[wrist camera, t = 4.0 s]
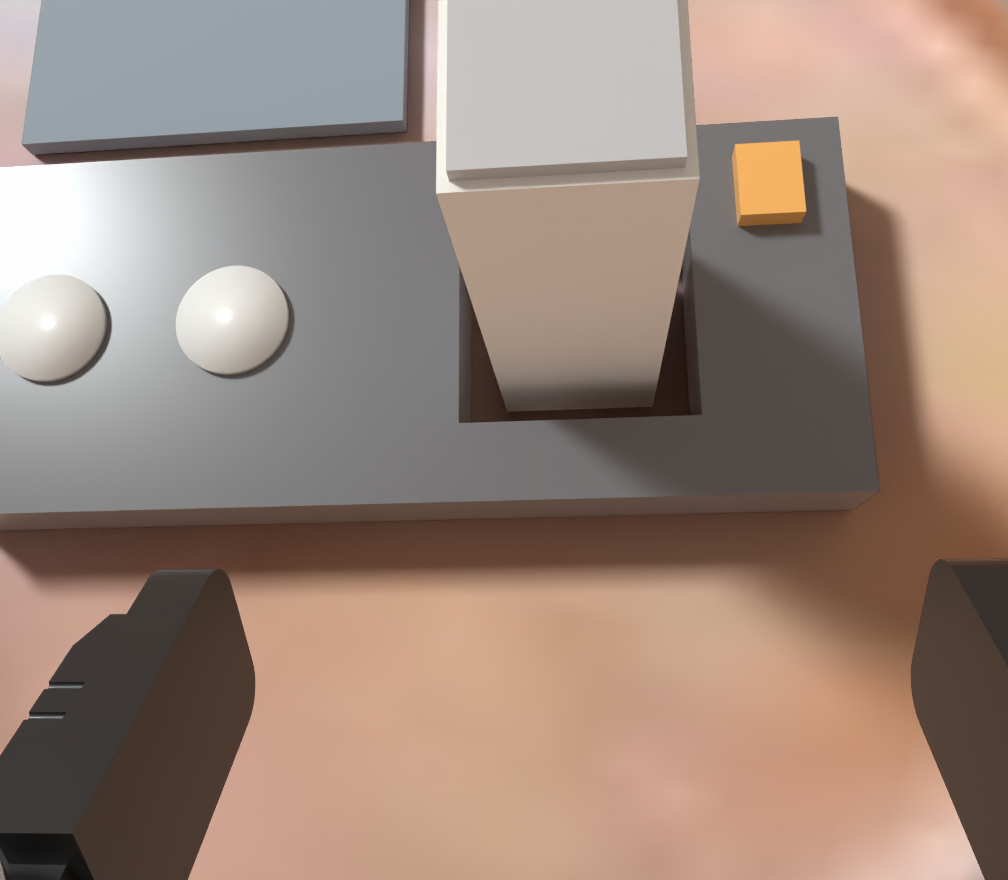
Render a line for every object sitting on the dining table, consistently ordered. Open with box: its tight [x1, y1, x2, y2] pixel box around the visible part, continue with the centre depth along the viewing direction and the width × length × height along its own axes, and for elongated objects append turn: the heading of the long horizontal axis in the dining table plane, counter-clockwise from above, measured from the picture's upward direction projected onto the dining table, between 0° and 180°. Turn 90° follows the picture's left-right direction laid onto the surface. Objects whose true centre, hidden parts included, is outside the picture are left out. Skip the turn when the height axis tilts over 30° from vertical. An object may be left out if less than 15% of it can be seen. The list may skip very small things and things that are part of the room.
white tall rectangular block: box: [436, 0, 700, 412], centre depth 20 cm, size 4×4×12 cm
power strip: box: [0, 117, 880, 530], centre depth 25 cm, size 28×10×3 cm, turn 90°
